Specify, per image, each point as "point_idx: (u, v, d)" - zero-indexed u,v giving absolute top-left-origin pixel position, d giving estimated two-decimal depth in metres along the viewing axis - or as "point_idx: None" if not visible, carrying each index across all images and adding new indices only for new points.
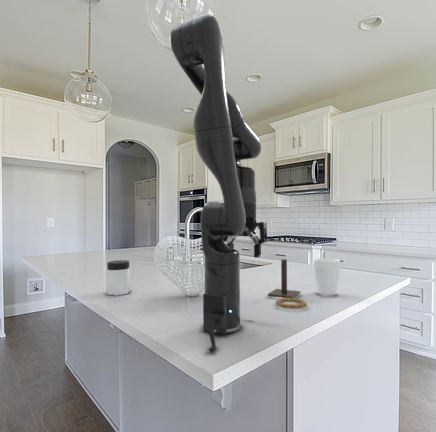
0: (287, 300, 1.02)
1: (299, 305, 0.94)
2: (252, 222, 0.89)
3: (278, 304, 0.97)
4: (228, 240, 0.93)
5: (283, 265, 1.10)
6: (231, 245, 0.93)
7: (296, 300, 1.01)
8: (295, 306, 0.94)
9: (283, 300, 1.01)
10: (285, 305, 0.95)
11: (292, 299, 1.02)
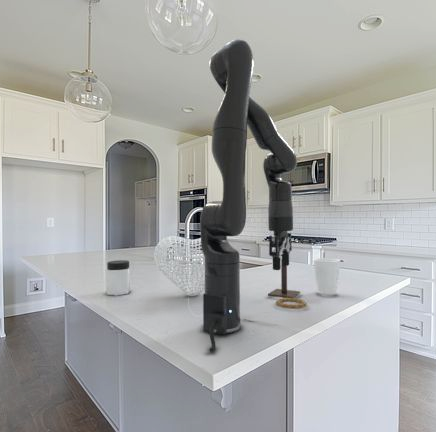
0: (287, 300, 1.02)
1: (299, 305, 0.94)
2: None
3: (278, 304, 0.97)
4: None
5: (283, 265, 1.10)
6: (283, 255, 0.99)
7: (296, 300, 1.01)
8: (295, 306, 0.94)
9: (283, 300, 1.01)
10: (285, 305, 0.95)
11: (292, 299, 1.02)
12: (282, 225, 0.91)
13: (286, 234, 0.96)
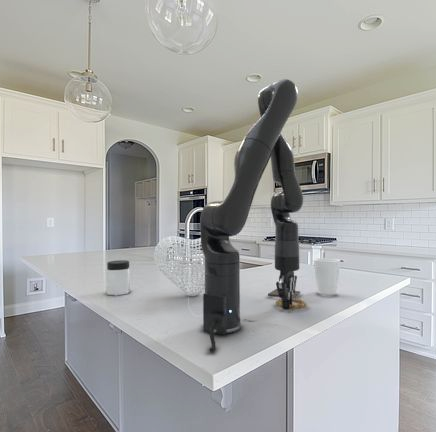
0: None
1: (299, 305, 0.94)
2: None
3: (278, 304, 0.97)
4: None
5: None
6: None
7: (296, 300, 1.01)
8: (295, 306, 0.94)
9: None
10: None
11: (292, 299, 1.02)
12: (288, 265, 0.91)
13: (293, 271, 0.97)
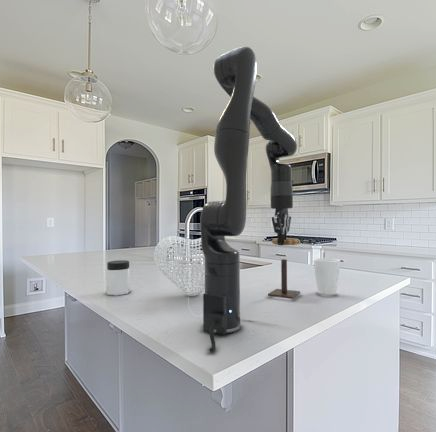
0: None
1: (293, 240, 1.05)
2: None
3: (274, 241, 1.07)
4: None
5: (283, 265, 1.10)
6: None
7: (290, 239, 1.11)
8: (289, 241, 1.04)
9: None
10: None
11: (287, 239, 1.12)
12: (283, 203, 1.02)
13: (287, 211, 1.07)
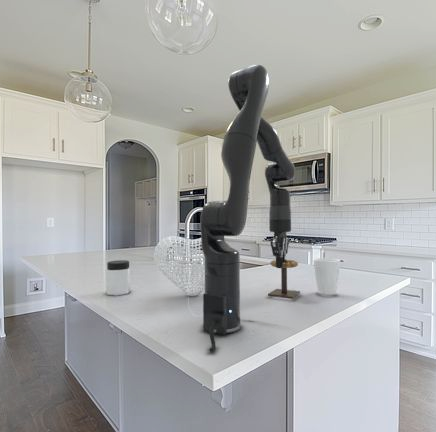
0: None
1: (291, 263, 1.07)
2: None
3: (272, 263, 1.09)
4: None
5: None
6: None
7: (288, 261, 1.13)
8: (287, 264, 1.07)
9: None
10: None
11: None
12: (281, 227, 1.04)
13: (285, 234, 1.10)
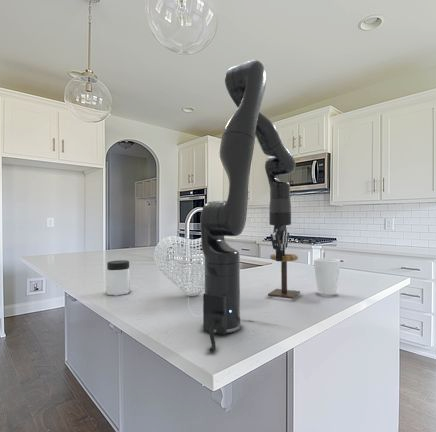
0: None
1: (291, 256, 1.07)
2: None
3: (272, 256, 1.09)
4: None
5: (283, 265, 1.10)
6: None
7: (288, 255, 1.13)
8: (287, 257, 1.07)
9: None
10: None
11: (285, 254, 1.14)
12: (281, 220, 1.04)
13: (285, 227, 1.10)
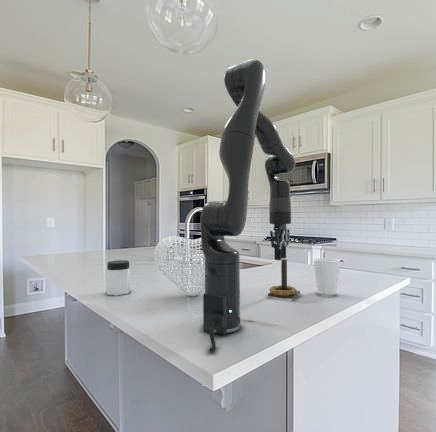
0: (280, 287, 1.14)
1: (290, 291, 1.06)
2: None
3: (271, 290, 1.09)
4: None
5: (283, 265, 1.10)
6: (281, 249, 1.10)
7: (288, 287, 1.13)
8: (286, 292, 1.06)
9: (276, 287, 1.13)
10: (277, 291, 1.07)
11: None
12: (281, 219, 1.04)
13: (285, 226, 1.09)
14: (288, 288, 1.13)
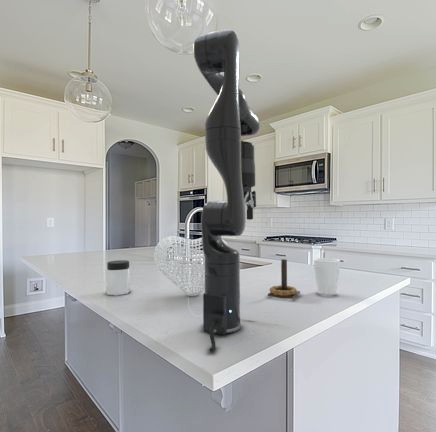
0: (280, 287, 1.14)
1: (290, 291, 1.06)
2: None
3: (271, 290, 1.09)
4: None
5: (283, 265, 1.10)
6: (248, 210, 1.09)
7: (288, 287, 1.13)
8: (286, 292, 1.06)
9: (276, 287, 1.13)
10: (277, 291, 1.07)
11: None
12: (244, 180, 1.02)
13: (250, 190, 1.07)
14: (288, 288, 1.13)
